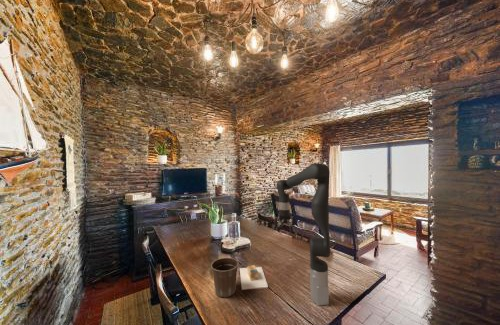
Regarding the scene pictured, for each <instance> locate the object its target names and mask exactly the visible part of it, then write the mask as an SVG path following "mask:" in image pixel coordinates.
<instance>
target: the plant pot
mask: <svg viewBox="0 0 500 325" xmlns="http://www.w3.org/2000/svg"><path fill="white" fill-rule="evenodd" d="M210 267H211V272H212V275H213V276H212V277H213V283H214V284H213V285H214V294H215V295H216V296H217V297H219V298H228V297H231V296H232V295H234V294H235V292H236V290H237V272H238V267H239V261H238V260H237V259H236V258H232V257H221V258H218V259H215V260H213V262H211V265H210Z"/></svg>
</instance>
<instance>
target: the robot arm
mask: <svg viewBox="0 0 500 325" xmlns="http://www.w3.org/2000/svg"><path fill="white" fill-rule="evenodd" d="M313 179H314V180H317V187H316V191H315V193H314V195H313V197H312V199H311V216H312V218H313V220H314V221H315V223H316V224H317V225H318V228H319V229H320V231H321V233H322V235H323V238H319V237H311V238H310V239H309V243H308V244H309V260H310V261H309V264H310V265H309V266H310V268H309V269H310V271H309V272H310V273H309V274H310V276H309V278H310V279H309V280H310V283H309V284H310V300H311V301H312V303H314V304H316V305H317V306H318V307H319V306H329V305H330V298H329V297H330V295H329V290H330V288H329V266H328V263H327V262H326V261H325V260H323V259H321V258H319V257H323V258H330V256H331V241H330V240H331V238H330V225H329V224H330V222H329V221H330V207H329V206H330V204H329V188H330V186H329V184H330V168H329V166H328V165H327V164H325V163H317V162H316V163H311V164H309V165H308V166H307V167H305V168H304V169H302V170H301V171H299V172H297V173H295V174H294V175H292V176H288V177H287V178H286V179H281V180H278V181H277V183H276V191H277V194H278V200H279V202H278V217H277V216H274V221H273V222H274V223H273V224H274V226H275V227H276V230H277V233H281V231H280V226H281V225H282V224H288V225H289V232H291V233H292V231H293V226H295V225H296V221H295V220H296V219H295V217H294V216H293V215H292V216H291V212H290V211H291V206H290V194H289V193H286V192H285V191H288V190H290V189H293V188H295V187H297V186H299V185H301V184H303V182H305V181H308V180H313Z"/></svg>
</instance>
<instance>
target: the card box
mask: <svg viewBox="0 0 500 325" xmlns="http://www.w3.org/2000/svg"><path fill="white" fill-rule="evenodd" d="M256 267H257V266H256V265H255V264H253V265H248V266H247V268H248V276H249V278H250V281H253V280H258V271H257V269H256Z"/></svg>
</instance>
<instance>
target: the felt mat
mask: <svg viewBox="0 0 500 325" xmlns="http://www.w3.org/2000/svg"><path fill="white" fill-rule="evenodd" d="M255 267H256V269H257V271H258V280H253V281H250V278H249V276H248V267H239V273H240V274H239V275H240V283H241V284H240V285H241V291H243V290H254V289H255V290H256V289H268V288H269V286H268V282H267V279H266V276H265V274H264V270H263V267H262V266H255Z"/></svg>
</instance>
